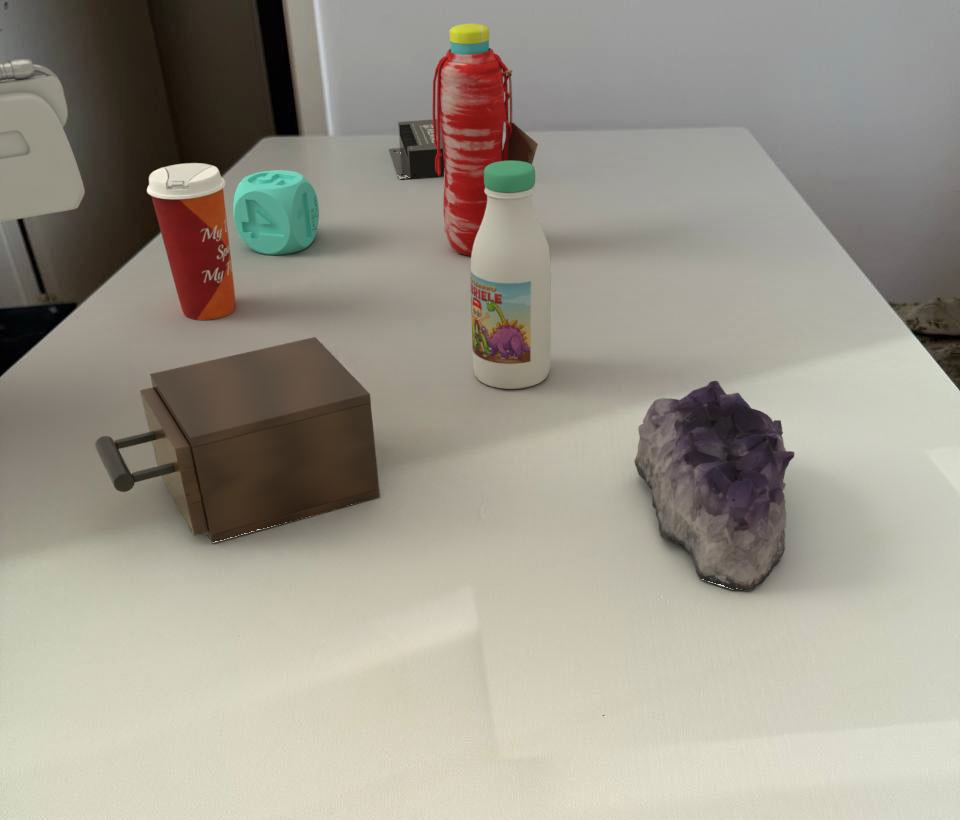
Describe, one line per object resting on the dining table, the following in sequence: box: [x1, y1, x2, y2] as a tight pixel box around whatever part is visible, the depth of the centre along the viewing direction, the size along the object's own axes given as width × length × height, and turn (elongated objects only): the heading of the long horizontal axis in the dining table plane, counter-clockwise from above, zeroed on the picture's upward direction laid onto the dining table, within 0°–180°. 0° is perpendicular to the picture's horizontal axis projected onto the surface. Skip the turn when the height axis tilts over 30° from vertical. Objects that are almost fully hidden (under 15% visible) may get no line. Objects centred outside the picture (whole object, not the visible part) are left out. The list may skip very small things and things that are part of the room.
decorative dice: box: [232, 169, 320, 256], centre depth 142 cm, size 8×8×8 cm
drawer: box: [94, 386, 208, 536], centre depth 94 cm, size 18×11×8 cm, turn 117°
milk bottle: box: [470, 161, 552, 390], centre depth 107 cm, size 8×8×20 cm
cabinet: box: [149, 336, 381, 543], centre depth 95 cm, size 15×13×10 cm
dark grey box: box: [388, 118, 444, 179], centre depth 164 cm, size 20×14×17 cm
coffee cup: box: [146, 162, 236, 321], centre depth 124 cm, size 8×8×15 cm
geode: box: [633, 380, 795, 591], centre depth 89 cm, size 20×12×10 cm, turn 6°
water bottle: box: [432, 23, 539, 257], centre depth 134 cm, size 12×8×25 cm, turn 95°
